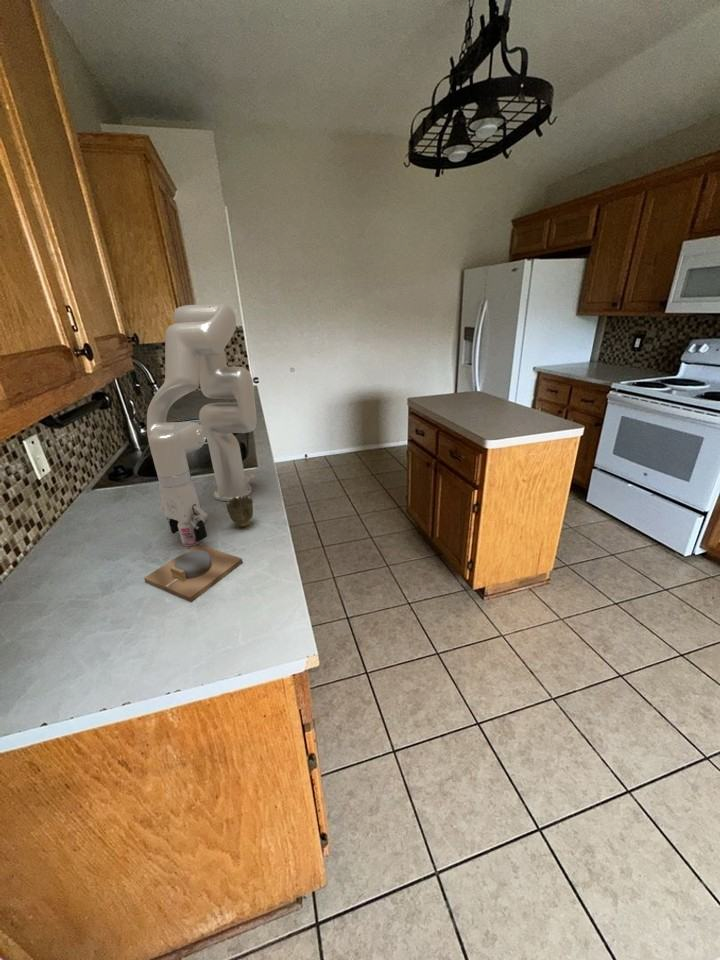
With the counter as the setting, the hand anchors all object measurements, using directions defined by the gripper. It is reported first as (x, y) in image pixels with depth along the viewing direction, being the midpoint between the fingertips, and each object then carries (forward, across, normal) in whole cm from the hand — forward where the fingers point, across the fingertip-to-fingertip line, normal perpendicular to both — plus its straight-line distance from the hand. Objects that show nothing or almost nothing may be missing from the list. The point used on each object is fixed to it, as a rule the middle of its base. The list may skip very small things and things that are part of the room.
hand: (189, 535), depth 108 cm
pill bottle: (+3, 0, 0) cm, 3 cm away
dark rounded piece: (+2, +7, +13) cm, 15 cm away
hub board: (+2, +12, -9) cm, 15 cm away
